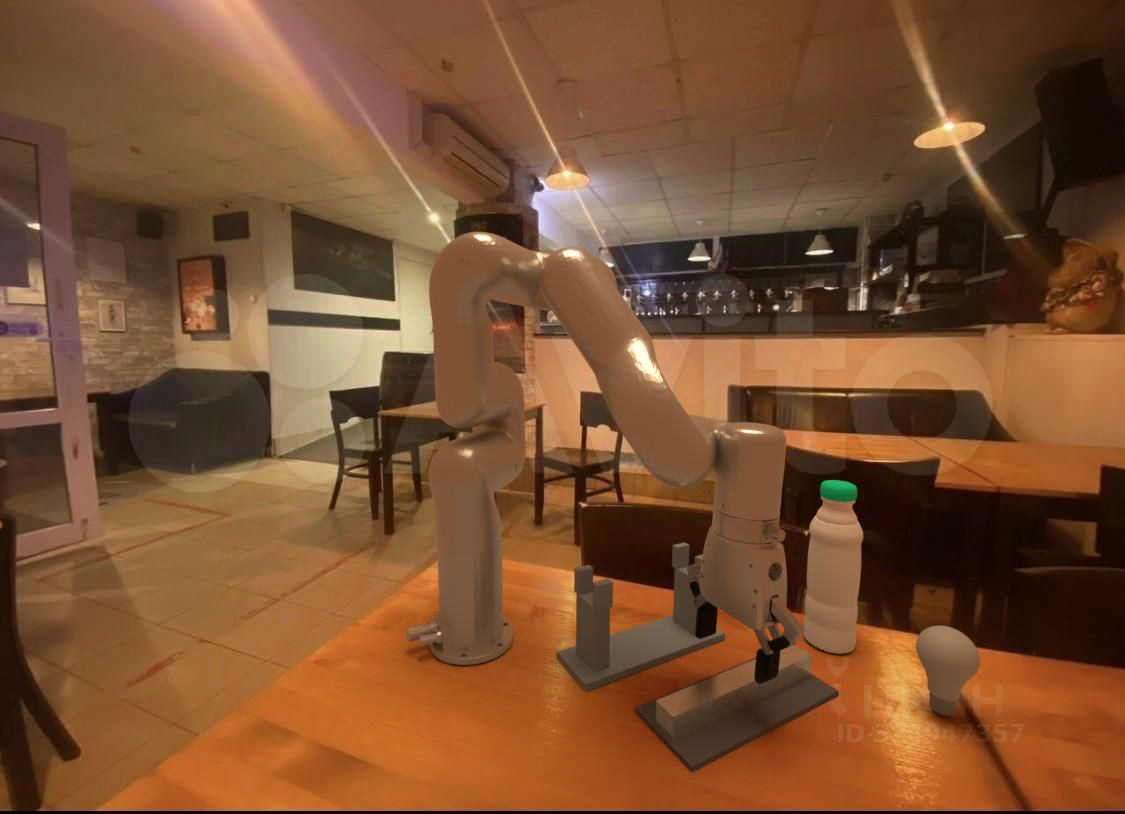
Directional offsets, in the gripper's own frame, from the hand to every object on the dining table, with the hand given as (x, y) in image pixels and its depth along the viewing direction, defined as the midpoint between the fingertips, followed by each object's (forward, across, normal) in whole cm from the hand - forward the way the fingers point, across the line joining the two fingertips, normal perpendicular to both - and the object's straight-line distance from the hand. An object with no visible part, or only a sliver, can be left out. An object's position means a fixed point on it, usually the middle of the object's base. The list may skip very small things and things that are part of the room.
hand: (733, 656), depth 62 cm
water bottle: (+6, +2, -23) cm, 24 cm away
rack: (+7, +14, +3) cm, 16 cm away
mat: (+6, -1, -1) cm, 6 cm away
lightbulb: (+6, -14, -21) cm, 26 cm away
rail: (+6, -1, -1) cm, 6 cm away
